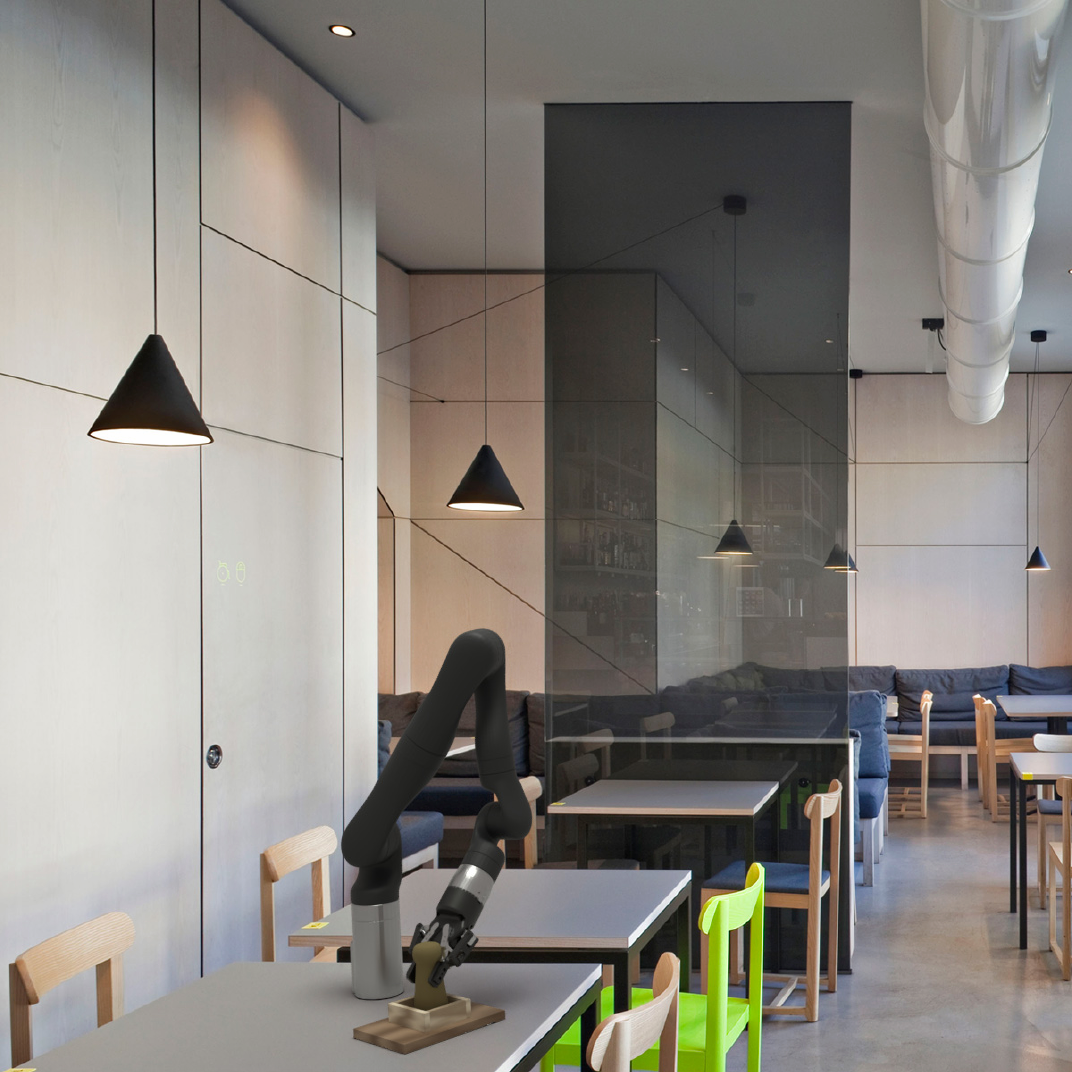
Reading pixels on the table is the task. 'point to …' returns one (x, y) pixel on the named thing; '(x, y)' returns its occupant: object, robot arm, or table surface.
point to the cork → (425, 963)
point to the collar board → (426, 1023)
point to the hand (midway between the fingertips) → (421, 982)
